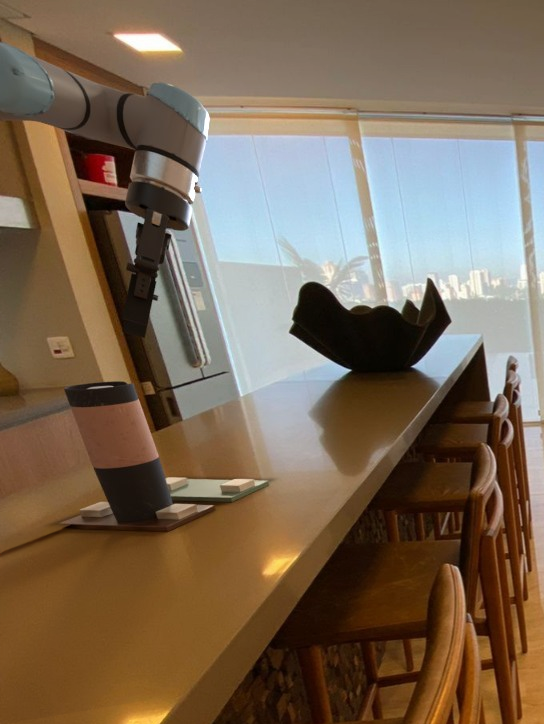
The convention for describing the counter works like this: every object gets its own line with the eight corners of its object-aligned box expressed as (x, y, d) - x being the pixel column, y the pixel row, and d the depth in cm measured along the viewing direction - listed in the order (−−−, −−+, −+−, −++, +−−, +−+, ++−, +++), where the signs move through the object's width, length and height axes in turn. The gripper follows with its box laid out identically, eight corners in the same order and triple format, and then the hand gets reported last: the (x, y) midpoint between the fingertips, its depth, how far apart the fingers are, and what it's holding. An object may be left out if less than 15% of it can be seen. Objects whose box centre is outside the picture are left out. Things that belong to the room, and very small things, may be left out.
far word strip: (135, 499, 97) (131, 488, 96) (179, 482, 105) (176, 472, 104) (232, 502, 95) (228, 490, 95) (269, 484, 104) (266, 474, 103)
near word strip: (59, 528, 85) (53, 516, 85) (115, 506, 94) (111, 495, 93) (168, 531, 84) (163, 519, 83) (215, 509, 92) (212, 498, 91)
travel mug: (102, 526, 84) (49, 391, 76) (129, 508, 91) (82, 382, 83) (163, 520, 86) (116, 387, 78) (185, 503, 93) (144, 379, 85)
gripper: (200, 180, 80) (171, 325, 79) (186, 228, 98) (162, 347, 97) (130, 149, 75) (97, 304, 74) (129, 206, 93) (102, 331, 92)
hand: (134, 329), depth 86 cm, fingers open, 13 cm apart
